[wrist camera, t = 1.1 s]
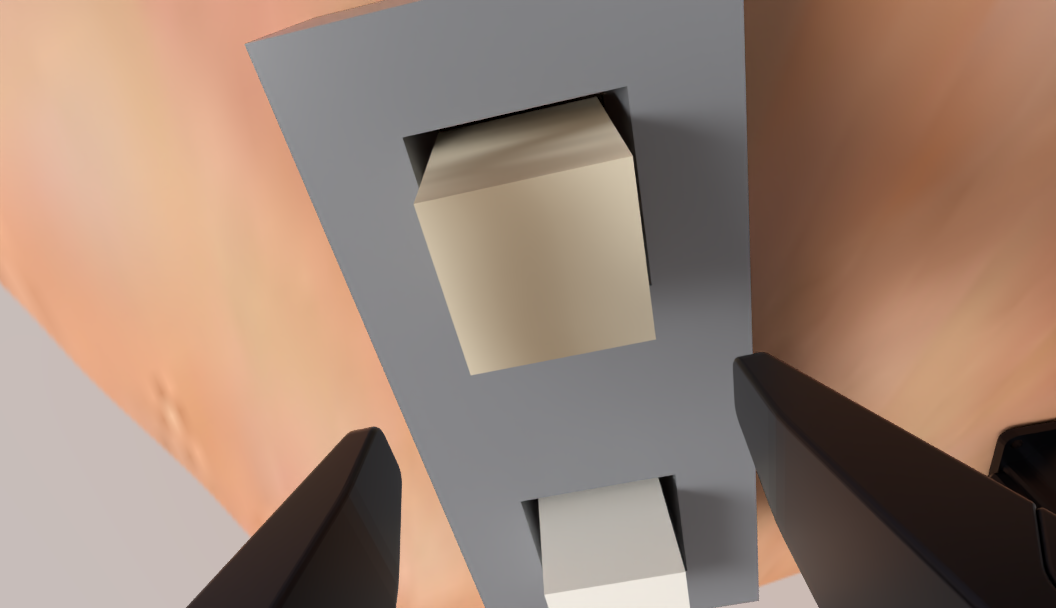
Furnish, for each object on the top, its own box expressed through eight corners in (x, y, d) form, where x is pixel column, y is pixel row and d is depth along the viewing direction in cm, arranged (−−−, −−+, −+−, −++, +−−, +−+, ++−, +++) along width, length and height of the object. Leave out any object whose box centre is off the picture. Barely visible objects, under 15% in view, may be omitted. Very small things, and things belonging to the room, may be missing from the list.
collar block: (676, -73, 16) (741, -79, 11) (718, 495, 27) (758, 600, 22) (312, 18, 16) (244, 43, 12) (500, 533, 28) (499, 641, 23)
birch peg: (596, 96, 15) (632, 155, 11) (618, 242, 17) (655, 339, 13) (438, 132, 15) (413, 204, 11) (478, 271, 17) (470, 375, 13)
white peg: (649, 447, 21) (685, 571, 17) (660, 522, 23) (695, 650, 19) (536, 467, 21) (544, 594, 17) (557, 539, 23) (569, 669, 19)
